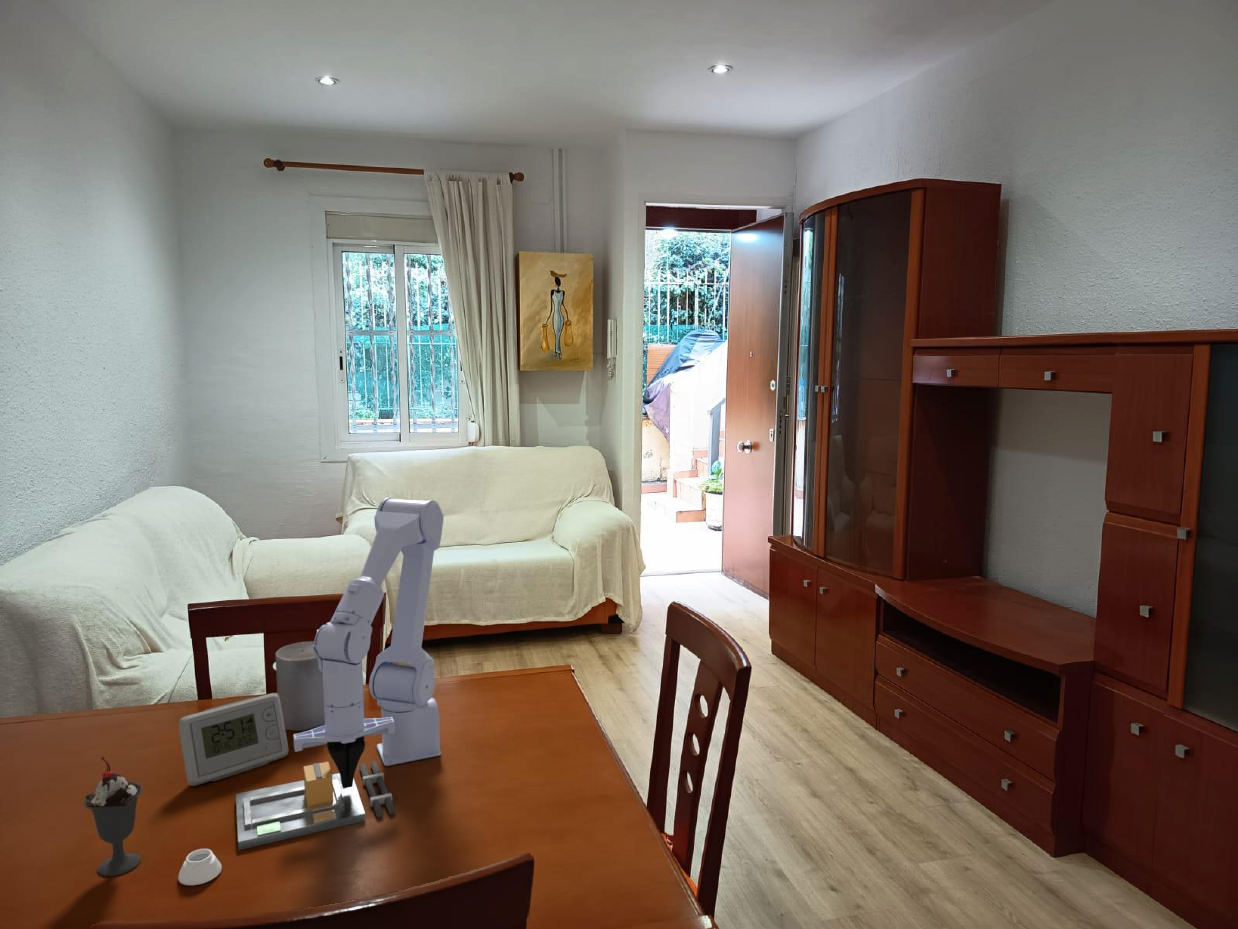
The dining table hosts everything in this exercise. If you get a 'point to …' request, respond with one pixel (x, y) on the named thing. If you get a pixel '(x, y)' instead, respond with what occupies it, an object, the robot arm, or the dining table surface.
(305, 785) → the cardboard box
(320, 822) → the grey metal tray
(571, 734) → the dining table surface
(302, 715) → the pillar candle
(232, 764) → the digital clock
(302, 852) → the dining table surface
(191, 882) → the white hollow cone ring
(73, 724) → the dining table surface
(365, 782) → the cable bundle
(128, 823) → the sundae
